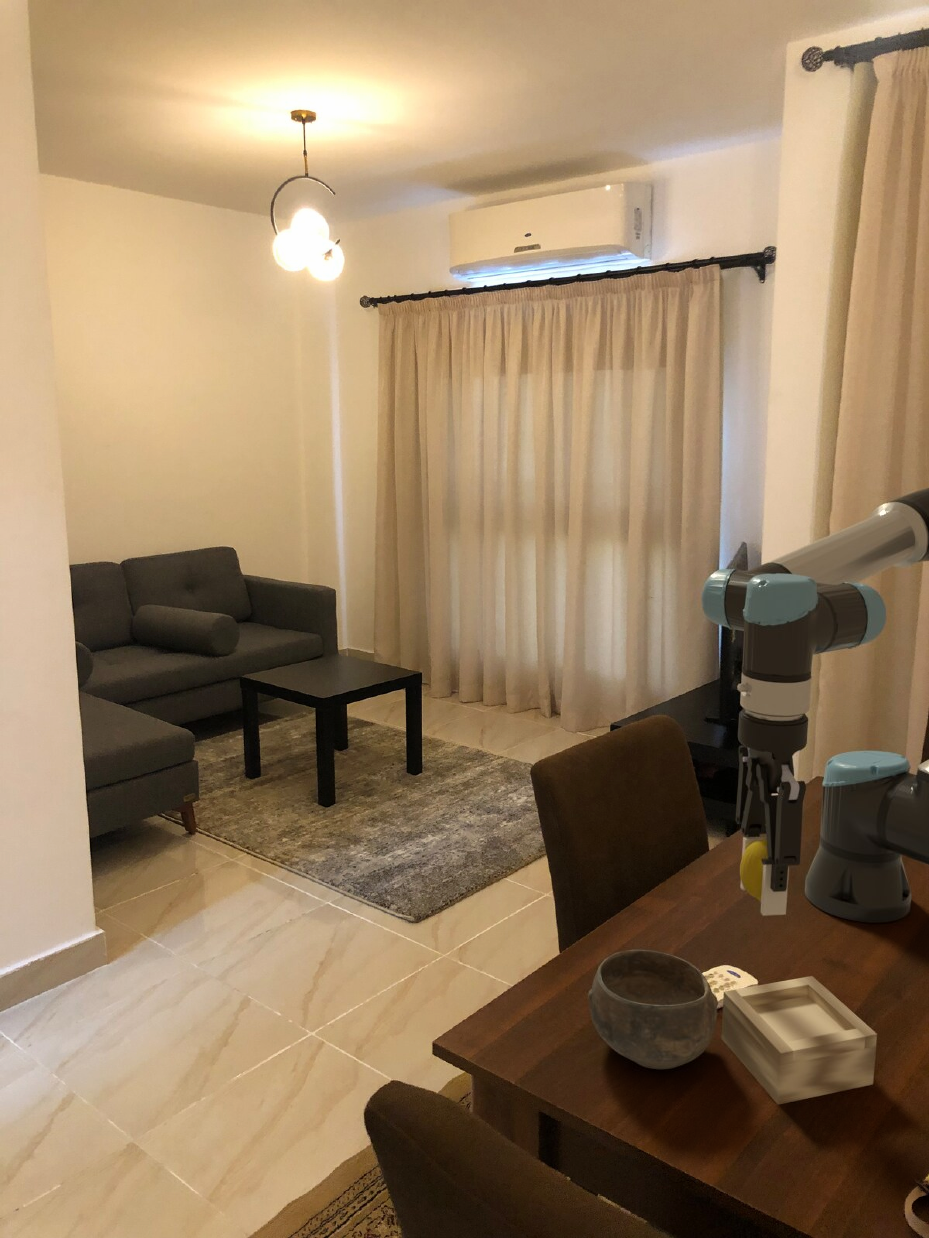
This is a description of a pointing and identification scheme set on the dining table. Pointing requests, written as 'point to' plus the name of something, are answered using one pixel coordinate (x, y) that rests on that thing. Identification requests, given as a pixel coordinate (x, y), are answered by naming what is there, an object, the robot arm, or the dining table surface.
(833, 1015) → the birch box
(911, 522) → the robot arm
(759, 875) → the lemon
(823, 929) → the dining table surface
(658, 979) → the bowl
